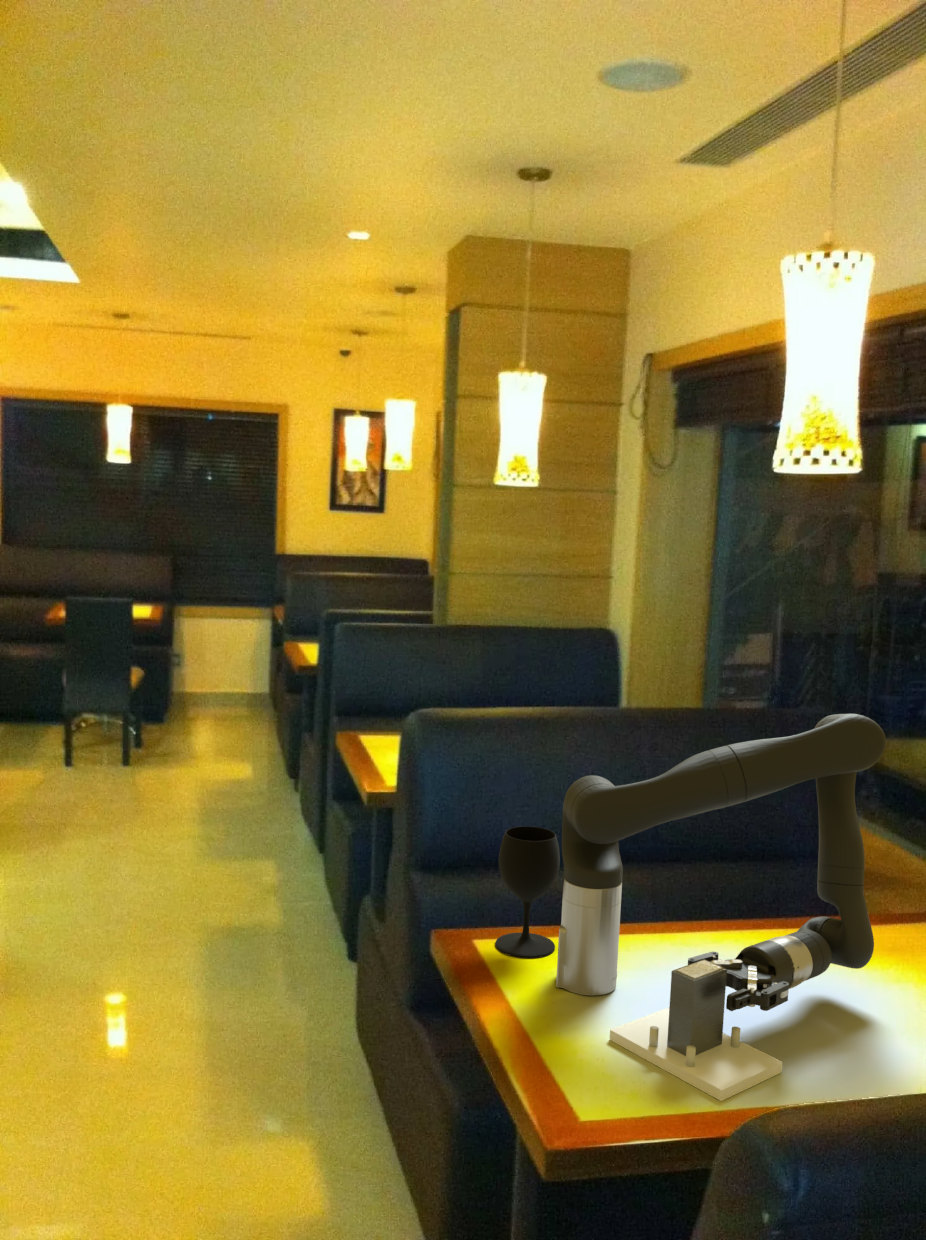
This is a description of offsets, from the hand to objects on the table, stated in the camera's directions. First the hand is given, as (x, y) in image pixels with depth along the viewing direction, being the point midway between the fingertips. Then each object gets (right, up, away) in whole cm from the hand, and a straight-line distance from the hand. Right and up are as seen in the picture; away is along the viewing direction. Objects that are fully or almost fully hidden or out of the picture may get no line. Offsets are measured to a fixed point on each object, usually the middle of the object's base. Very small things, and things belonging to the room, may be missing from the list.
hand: (704, 992), depth 157 cm
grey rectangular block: (-1, -7, 0) cm, 8 cm away
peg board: (-2, -9, 0) cm, 9 cm away
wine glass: (-23, -4, +36) cm, 43 cm away
